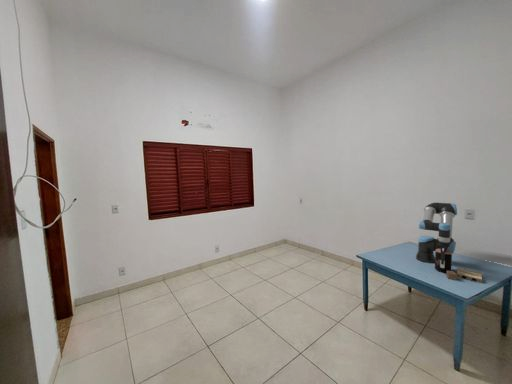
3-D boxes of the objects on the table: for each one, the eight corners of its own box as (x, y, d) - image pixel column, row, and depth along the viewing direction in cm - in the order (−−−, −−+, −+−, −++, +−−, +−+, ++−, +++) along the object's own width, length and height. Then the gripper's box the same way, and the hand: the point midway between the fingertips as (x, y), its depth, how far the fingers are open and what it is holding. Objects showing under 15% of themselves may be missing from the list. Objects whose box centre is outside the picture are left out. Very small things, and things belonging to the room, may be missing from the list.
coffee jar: (431, 268, 187) (432, 248, 186) (443, 267, 187) (444, 248, 185) (441, 273, 177) (442, 253, 175) (454, 273, 176) (455, 253, 175)
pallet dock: (457, 270, 180) (457, 267, 180) (481, 276, 170) (481, 272, 170) (456, 277, 171) (456, 273, 170) (481, 283, 160) (482, 279, 160)
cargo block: (446, 276, 173) (446, 270, 172) (454, 277, 170) (454, 271, 170) (448, 279, 168) (448, 273, 168) (456, 280, 166) (456, 274, 165)
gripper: (439, 237, 191) (438, 259, 193) (436, 244, 173) (435, 268, 175) (450, 238, 185) (449, 261, 187) (448, 246, 168) (447, 271, 170)
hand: (443, 265), depth 181 cm, fingers open, 13 cm apart
